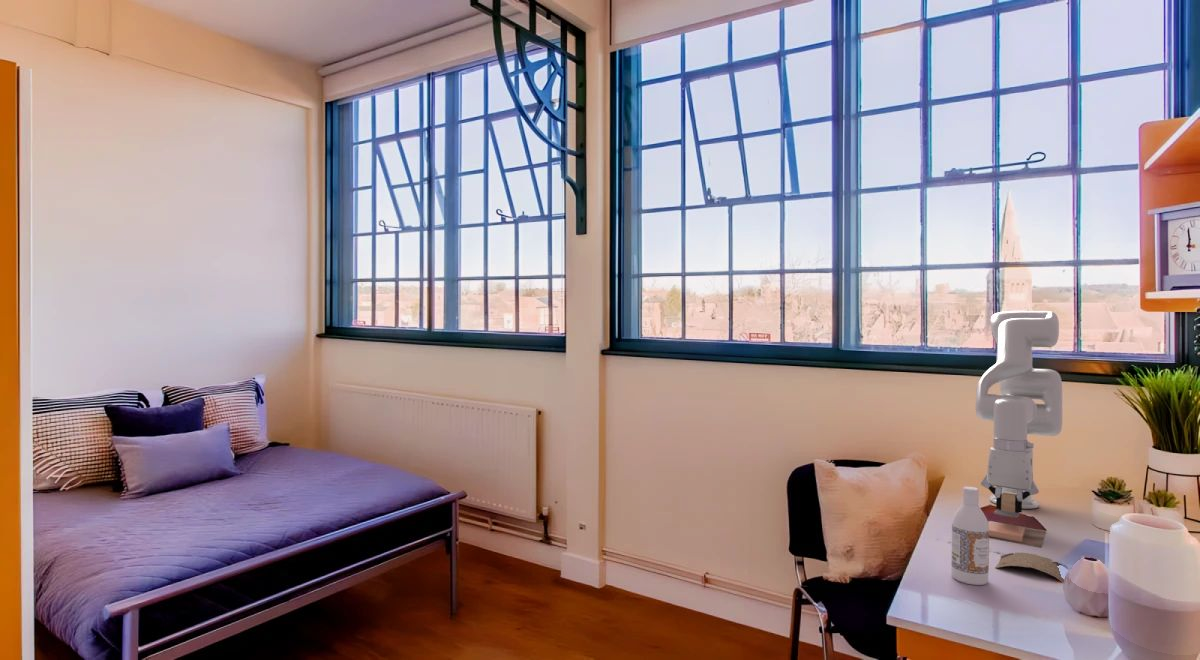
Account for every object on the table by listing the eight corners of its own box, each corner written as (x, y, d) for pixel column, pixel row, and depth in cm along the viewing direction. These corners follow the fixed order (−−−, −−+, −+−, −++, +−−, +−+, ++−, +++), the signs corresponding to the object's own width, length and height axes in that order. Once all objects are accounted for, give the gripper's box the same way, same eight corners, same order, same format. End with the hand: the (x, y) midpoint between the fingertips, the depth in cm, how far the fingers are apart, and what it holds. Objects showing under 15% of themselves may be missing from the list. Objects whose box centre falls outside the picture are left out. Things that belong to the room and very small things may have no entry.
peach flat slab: (989, 520, 167) (984, 529, 160) (1025, 527, 162) (1022, 536, 155) (989, 526, 167) (984, 535, 160) (1025, 533, 162) (1022, 542, 155)
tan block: (999, 509, 172) (1000, 491, 172) (1021, 512, 169) (1022, 494, 169) (994, 513, 162) (994, 494, 163) (1017, 517, 159) (1017, 497, 160)
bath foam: (969, 587, 132) (970, 493, 131) (944, 574, 138) (945, 484, 138) (996, 584, 133) (997, 491, 133) (970, 571, 140) (971, 483, 140)
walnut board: (983, 525, 173) (983, 520, 173) (1045, 536, 164) (1045, 530, 164) (974, 540, 160) (974, 534, 160) (1041, 553, 151) (1041, 547, 151)
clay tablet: (1070, 572, 142) (1070, 560, 142) (1070, 587, 134) (1070, 574, 134) (995, 557, 150) (995, 546, 150) (991, 570, 142) (991, 558, 142)
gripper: (1048, 446, 165) (1047, 516, 165) (976, 439, 175) (975, 504, 175) (1046, 451, 159) (1045, 523, 159) (972, 443, 169) (971, 510, 169)
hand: (1008, 512), depth 167 cm, fingers closed on tan block, 3 cm apart
